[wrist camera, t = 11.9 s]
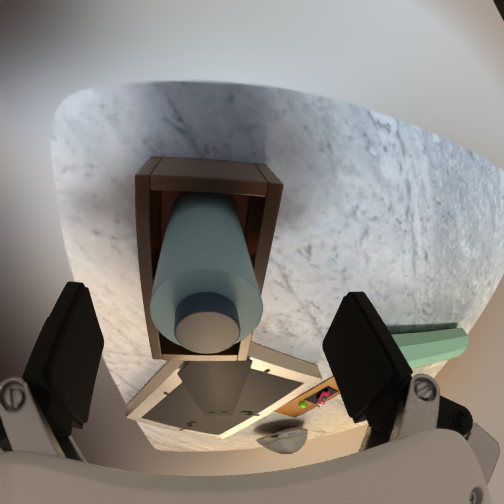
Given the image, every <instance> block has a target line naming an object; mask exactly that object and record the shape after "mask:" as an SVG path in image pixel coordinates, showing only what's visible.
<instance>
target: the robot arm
mask: <svg viewBox="0 0 504 504" xmlns="http://www.w3.org/2000/svg"><path fill="white" fill-rule="evenodd" d="M322 346H323V351H324V353H325V356H326V358H327V361H328V363H329V366H330V368H331V371H332V373H333V376H334V379H335V381H336V384H337V386H338V389H339V391H340V394H341V397H342V399H343V402H344V405H345V407H346V410H347V413H348V415H349V416H350V417H351V418H353V420H354V423H358V422H362V421H365V420H367V421H368V424H369V425H368V428H367V431H366V434H365V437H364V439H363V441H362V444H361V447H360V449H359V451H358V452H357V453H354V454H351V455H348V456H344V457H340V458H337V459H333V460H329V461H325V462H321V463H317V464H312V465H307V466H302V467H297V468H292V469H286V470H279V471H272V472H265V473H255V474H246V475H231V476H175V475H174V476H173V475H159V474H150V473H140V472H133V471H126V470H120V469H114V468H109V467H103V466H98V465H93V464H89V463H87V462H86V460H85V458H84V457H83V455H82V454H81V452H80V450H79V449H78V447H77V445H76V444H75V442H74V440H73V439H72V437H71V431H72V427H75V428H79V429H82V428H83V423H86V422H87V420H88V416H89V410H90V404H91V399H92V394H93V389H94V384H95V380H96V375H97V371H98V367H99V362H100V358H101V355H102V351H103V347H104V338H103V335H102V332H101V329H100V326H99V323H98V319H97V316H96V313H95V310H94V306H93V303H92V299H91V296H90V292H89V289H88V288H87V287H85V286H84V284H83V283H80V282H67V284H66V285H65V287H64V289H63V291H62V293H61V295H60V296H59V298H58V300H57V302H56V304H55V306H54V308H53V310H52V312H51V314H50V316H49V317H48V318H47V320H46V321H45V323H44V326H43V328H42V330H41V332H40V335H39V337H38V339H37V341H36V344H35V346H34V348H33V351H32V353H31V356H30V358H29V361H28V363H27V366H26V369H25V371H24V374H23V377H22V378H19V377H17V376H10V377H7V378H5V379H4V380H2V382H1V383H0V504H492V501H491V497H490V494H489V491H488V487H487V485H488V483H489V481H490V478H491V476H492V473H493V471H494V468H495V466H496V463H497V460H498V457H499V453H500V447H499V444H498V442H497V441H496V440H495V439H494V438H493V437H491V436H490V435H489V434H488V433H487V432H486V431H485V430H484V429H482V428H481V427H480V426H479V425H478V424H477V423H476V422H474V423H473V419H472V415H471V413H470V412H469V410H468V409H467V408H465V407H464V406H461V405H459V404H457V403H455V402H453V401H451V400H449V399H447V398H444V397H443V396H440V389H439V386H438V384H437V383H436V381H435V380H434V379H433V378H432V377H430V376H429V375H426V374H417V375H415V376H414V377H413V378H412V376H411V374H412V373H413V371H412V369H411V367H410V366H409V364H408V362H407V360H406V359H405V357H404V355H403V354H402V352H401V350H400V348H399V347H398V345H397V343H396V342H395V340H394V338H393V337H392V335H391V333H390V332H389V330H388V329H387V327H386V325H385V324H384V322H383V321H382V319H381V317H380V316H379V314H378V313H377V311H376V310H375V308H374V306H373V305H372V303H371V302H370V300H369V299H368V297H367V296H366V294H365V293H364V292H349V293H348V294H347V296H344V298H343V300H342V302H341V304H340V306H339V308H338V311H337V313H336V315H335V317H334V319H333V322H332V324H331V326H330V328H329V330H328V332H327V334H326V336H325V338H324V340H323V344H322Z"/></svg>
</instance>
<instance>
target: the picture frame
mask: <svg viewBox="0 0 504 504" xmlns="http://www.w3.org/2000/svg"><path fill="white" fill-rule="evenodd" d="M321 379H322V376H321V374H320V371H319V369H318V366H317V365H314V364H311V363H308V362H305V361H302V360H299V359H297V358H294V357H291V356H288V355H285V354H282V353H280V352H277V351H274V350H271V349H269V348H266V347H263V346H261V345H258V344H256V343H253V342H251V343H250V348H249V352H248V357H247V360H243V361H179V360H169V361H168V362H167V364H166V365H165V366H164V367H163V368H162V369H161V370H160V371H159V372H158V373H157V374H156V375H155V376H154V377H153V378H152V379H151V381H150V382H149V383H148V384H147V385H146V386H145V387H144V388H143V389H142V390H141V391H140V392H139V393H138V394H137V395H136V396H135V397H134V398H133V400H132V401H131V402H130V403H129V404H128V405H127V413H126V417H127V418H129V419H133V420H136V421H139V422H143V423H146V424H150V425H154V426H157V427H161V428H165V429H169V430H174V431H178V432H183V433H188V434H193V435H198V436H204V437H210V438H216V439H224V438H226V437H228V436H230V435H231V434H233V433H235V432H237V431H239V430H241V429H243V428H245V427H247V426H248V425H250V424H252V423H254V422H256V421H257V420H259V419H261V418H263V417H264V416H266V415H268V414H269V413H271V412H273V411H274V410H276V409H278V408H279V407H281V406H283V405H284V404H286V403H287V402H289V401H290V400H292V399H294V398H295V397H297V396H298V395H300V394H301V393H303V392H304V391H306V390H307V389H309V388H310V387H311V386H313V385H314V384H316V383H317V382H319V381H320V380H321Z"/></svg>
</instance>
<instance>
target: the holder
mask: <svg viewBox="0 0 504 504" xmlns="http://www.w3.org/2000/svg"><path fill="white" fill-rule="evenodd" d="M282 190H283V183H282V182H281V181H280V180H279V179H278V178H277V177H276V175H275V174H274V173H273V172H272V171H271V170H270V169H269V168H268V166H267V165H266V164H258V163H249V162H239V161H227V160H215V159H200V158H180V157H150V159H149V160H148V161H147V162H146V163H145V165H144V166H143V167H142V168H141V169H140V170H139V171H138V173H137V174H136V175H135V212H136V233H137V248H138V260H139V270H140V280H141V289H142V297H143V304H144V311H145V318H146V324H147V330H148V336H149V342H150V347H151V352H152V357H153V359H163V360H179V361H243V360H247V357H248V352H249V348H250V343H251V339H252V334H253V332H252V333H251V334H250V335H248V336H247V337H246V338H244V339H243V340H241V341H239V342H238V343H236V344H234V345H233V346H231V347H230V348H228V349H226V350H224V351H221V352H218V353H211V354H202V353H196V352H193V351H190V350H188V349H186V348H184V347H183V346H181V345H178V344H176V343H174V342H172V341H170V340H169V339H167V338H166V337H165V336H163V335H162V334H161V333H160V332H159V331H158V329H157V328H156V327H155V325H154V323H153V321H152V319H151V315H150V300H151V295H152V290H153V285H154V280H155V275H156V270H157V266H158V261H159V257H160V253H161V248H162V244H163V240H164V236H165V232H166V228H167V224H168V220H169V216H170V213H171V209H172V206H173V204H174V202H175V200H176V199H177V198H178V197H179V196H180V195H181V194H182V193H183V192H184V191H187V192H206V193H222V194H227V195H228V196H229V197H230V198H231V199H232V201H233V202H234V204H235V207H236V210H237V214H238V217H239V221H240V224H241V228H242V232H243V235H244V239H245V242H246V246H247V249H248V253H249V256H250V260H251V263H252V267H253V270H254V274H255V277H256V281H257V284H258V288H259V291H260V295H261V293H262V288H263V284H264V279H265V274H266V269H267V265H268V260H269V255H270V250H271V245H272V240H273V236H274V231H275V226H276V221H277V216H278V211H279V206H280V200H281V195H282Z"/></svg>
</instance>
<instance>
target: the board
mask: <svg viewBox="0 0 504 504" xmlns="http://www.w3.org/2000/svg"><path fill="white" fill-rule="evenodd" d="M338 394H340V391H339V389H338V386H337V384H336V381H335V379H334V376H332V377H331V378H329V379H327V380H326V381H324V382H322V383H321V384H319V385H317V386H316V387H314V388H312V389H310V390H309V391H307V392H305V393H303V394H301V395H300V396H298V397H296V398H294V399H292V400H290V401H289V402H287V403H286V404H284V405H283V406H281V407H279V408H278V409H276V410H274V412H278V413H281V414H284V415H288V416H292V417H297V416H299V415H301V414H303V413H305V412H307V411H309V410H311V409H313V408H315V407H317V406H318V407H320V406H322V405H324V404H325V402H326V401H328V400H330V399H331V398H333V397H335V396H337V395H338Z"/></svg>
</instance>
